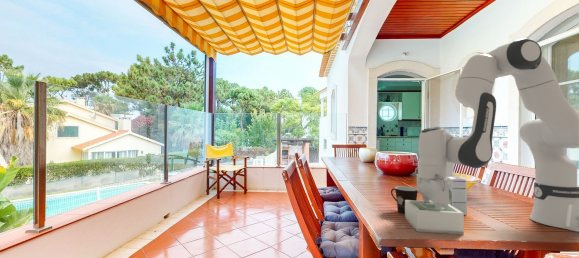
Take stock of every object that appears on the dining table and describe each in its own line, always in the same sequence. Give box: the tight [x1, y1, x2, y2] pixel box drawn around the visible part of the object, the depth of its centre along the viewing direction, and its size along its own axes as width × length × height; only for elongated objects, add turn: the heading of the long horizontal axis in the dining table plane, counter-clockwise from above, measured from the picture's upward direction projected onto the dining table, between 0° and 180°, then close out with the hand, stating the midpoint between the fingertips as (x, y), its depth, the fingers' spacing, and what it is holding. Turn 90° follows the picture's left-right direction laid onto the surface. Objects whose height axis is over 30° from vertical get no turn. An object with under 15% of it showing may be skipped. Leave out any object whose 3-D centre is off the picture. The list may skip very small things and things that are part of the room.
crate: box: [404, 199, 465, 235], centre depth 96 cm, size 14×14×7 cm
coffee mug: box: [390, 185, 419, 216], centre depth 112 cm, size 12×9×10 cm
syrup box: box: [447, 176, 468, 216], centre depth 111 cm, size 6×6×14 cm
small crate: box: [419, 203, 445, 211], centre depth 96 cm, size 6×6×6 cm
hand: (431, 211), depth 96 cm, fingers open, 8 cm apart
